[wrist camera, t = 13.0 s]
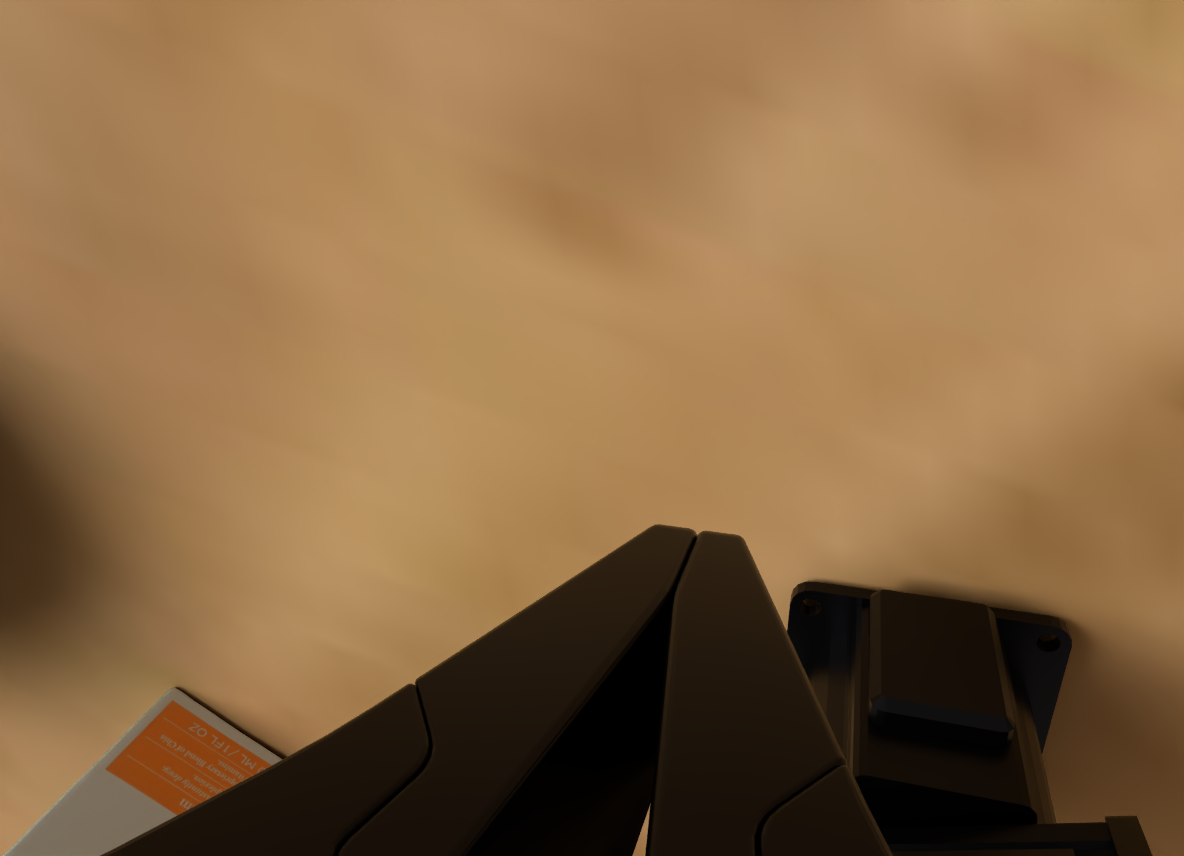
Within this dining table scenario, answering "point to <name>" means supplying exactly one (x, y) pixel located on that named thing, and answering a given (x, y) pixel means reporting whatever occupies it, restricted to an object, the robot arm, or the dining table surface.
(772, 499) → the dining table surface
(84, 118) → the dining table surface
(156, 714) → the skincare box
